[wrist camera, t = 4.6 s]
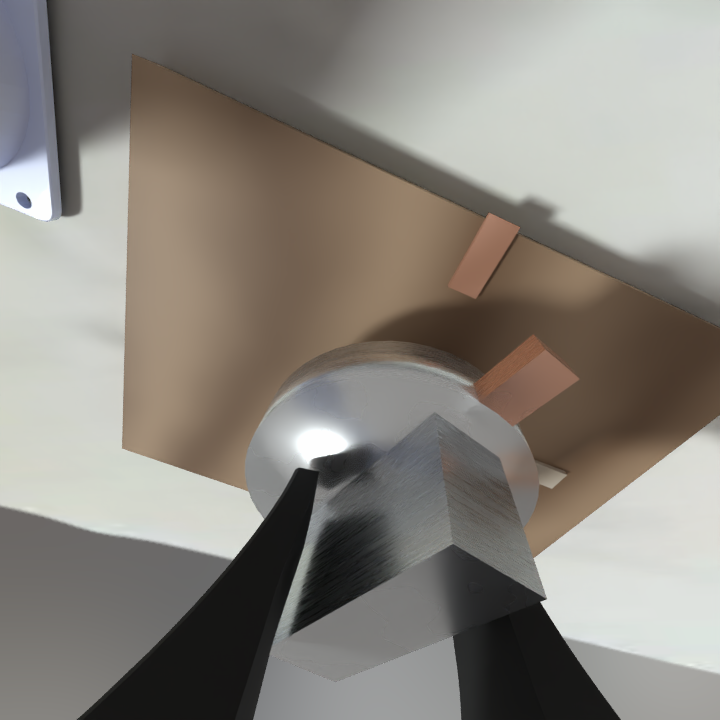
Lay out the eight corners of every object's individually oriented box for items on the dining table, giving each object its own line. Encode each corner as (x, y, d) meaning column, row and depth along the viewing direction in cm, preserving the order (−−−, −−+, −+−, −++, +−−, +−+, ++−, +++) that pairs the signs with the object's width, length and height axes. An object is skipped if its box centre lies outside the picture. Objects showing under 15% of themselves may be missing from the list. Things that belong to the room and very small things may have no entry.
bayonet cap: (401, 551, 15) (402, 723, 11) (226, 455, 13) (131, 616, 9) (631, 411, 10) (821, 617, 6) (409, 221, 8) (424, 301, 4)
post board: (137, 432, 18) (94, 477, 15) (160, 55, 10) (75, 19, 7) (501, 557, 20) (515, 614, 18) (762, 340, 12) (858, 388, 10)
